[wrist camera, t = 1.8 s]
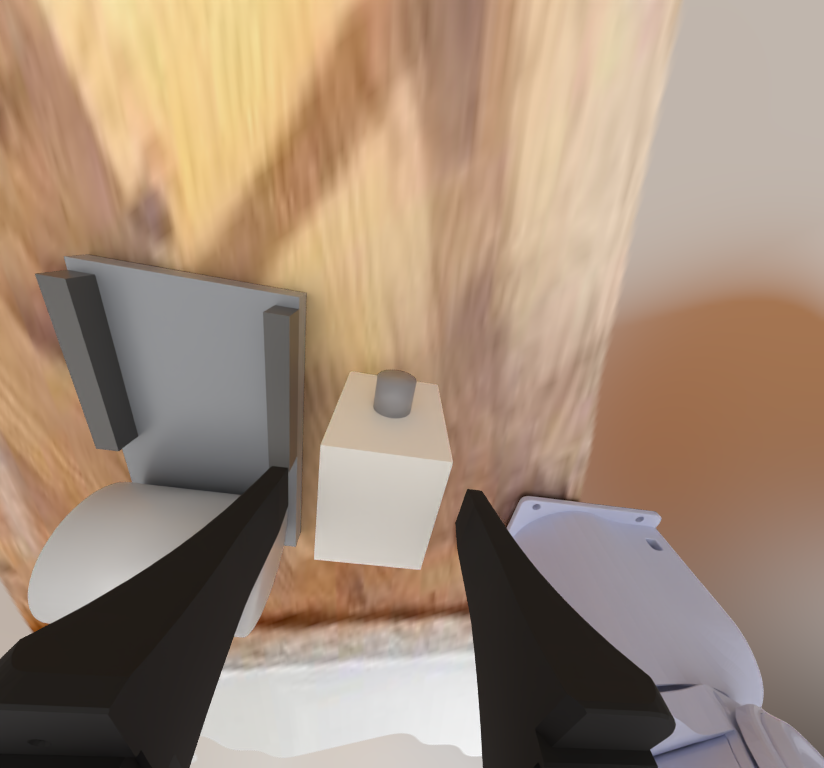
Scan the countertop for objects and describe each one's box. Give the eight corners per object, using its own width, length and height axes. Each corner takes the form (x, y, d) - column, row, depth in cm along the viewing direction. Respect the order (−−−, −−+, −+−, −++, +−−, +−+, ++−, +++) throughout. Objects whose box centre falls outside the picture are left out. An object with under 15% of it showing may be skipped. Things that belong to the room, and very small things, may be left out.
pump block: (443, 359, 15) (463, 429, 10) (416, 471, 19) (420, 569, 13) (353, 344, 15) (322, 409, 10) (341, 462, 18) (313, 559, 13)
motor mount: (306, 292, 14) (221, 345, 7) (300, 532, 21) (254, 664, 14) (87, 254, 13) (-217, 278, 7) (159, 518, 20) (45, 650, 14)
